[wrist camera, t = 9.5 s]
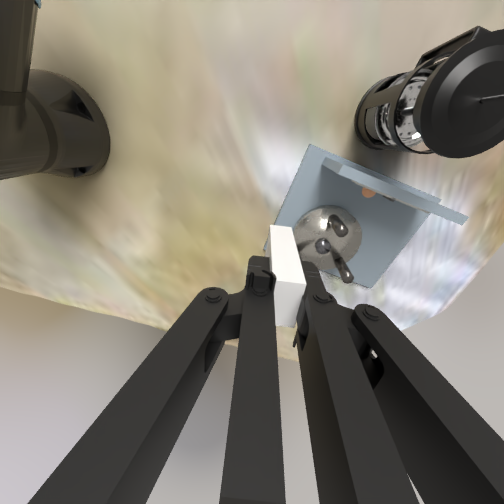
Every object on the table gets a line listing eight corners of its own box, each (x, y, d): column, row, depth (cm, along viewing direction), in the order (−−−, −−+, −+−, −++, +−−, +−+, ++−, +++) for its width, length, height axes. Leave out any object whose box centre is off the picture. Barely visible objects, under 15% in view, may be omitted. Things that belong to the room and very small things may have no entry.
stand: (263, 246, 45) (261, 278, 36) (309, 143, 36) (323, 147, 26) (368, 285, 48) (394, 324, 38) (436, 197, 39) (493, 219, 29)
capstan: (318, 275, 46) (326, 299, 39) (277, 237, 43) (278, 256, 36) (371, 236, 41) (390, 256, 35) (330, 190, 38) (342, 202, 31)
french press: (393, 162, 37) (545, 198, 16) (340, 141, 36) (432, 152, 16) (445, 76, 31) (770, -30, 11) (384, 49, 30) (613, -119, 10)
